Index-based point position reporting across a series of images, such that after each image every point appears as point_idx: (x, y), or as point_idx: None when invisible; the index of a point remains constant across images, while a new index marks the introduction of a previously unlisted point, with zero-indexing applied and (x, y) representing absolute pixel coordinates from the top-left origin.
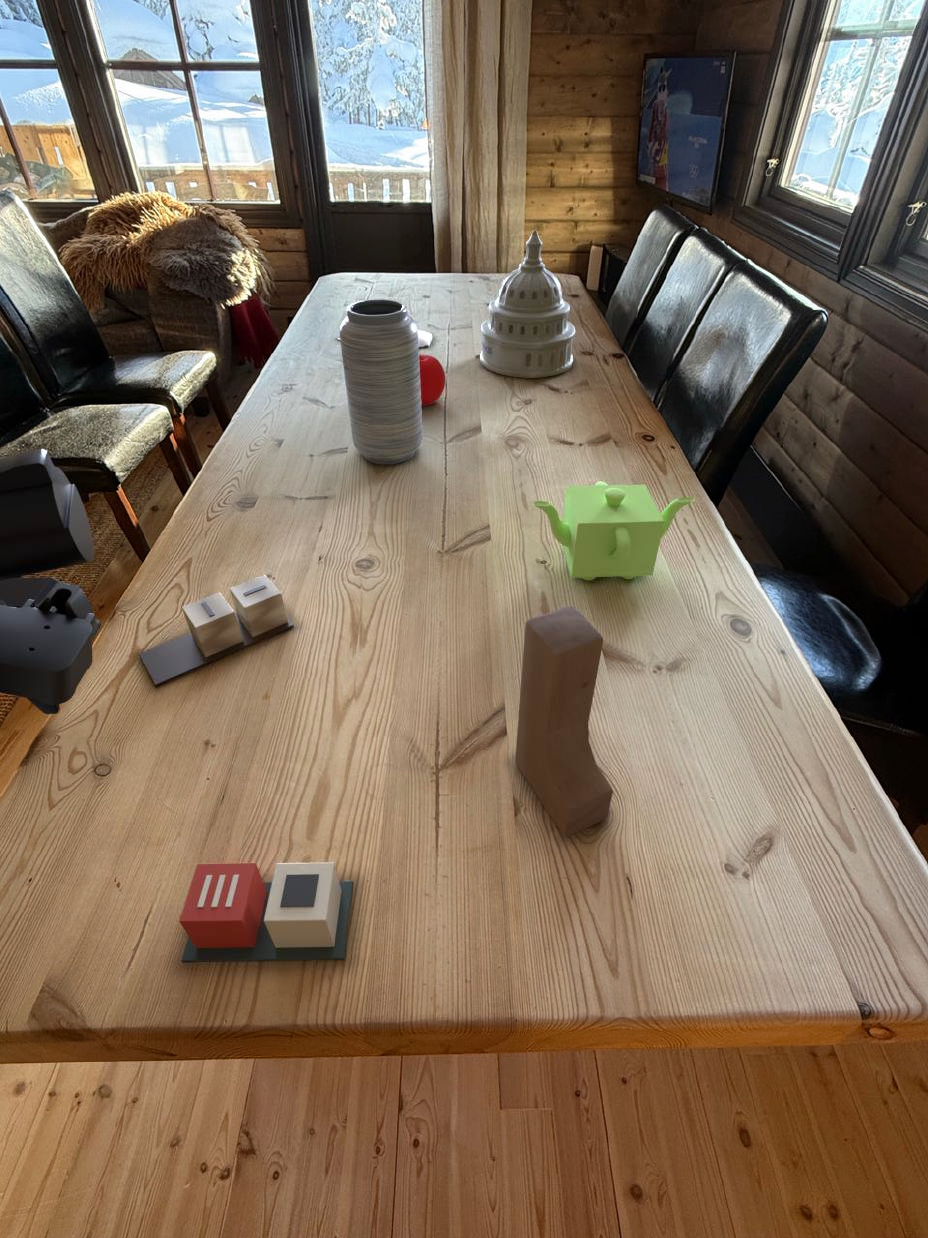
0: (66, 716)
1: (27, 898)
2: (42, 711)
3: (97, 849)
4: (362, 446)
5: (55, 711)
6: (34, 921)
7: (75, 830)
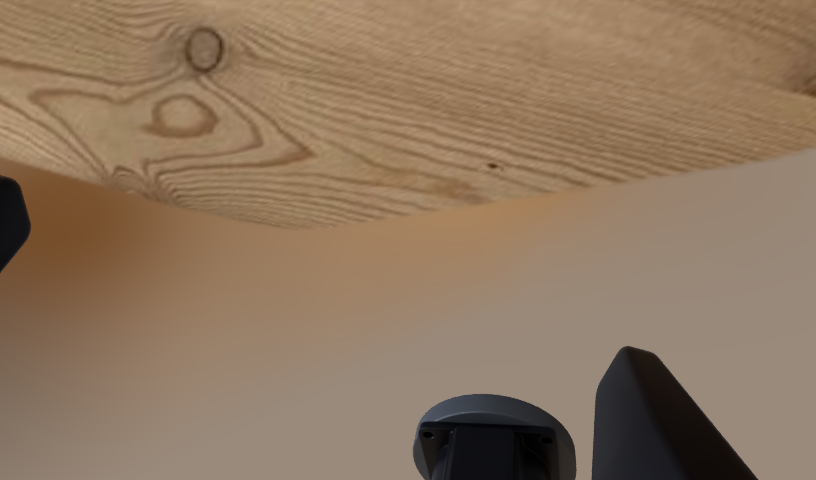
0: (61, 162)
1: (539, 164)
2: (17, 246)
3: (448, 23)
4: None
5: (1, 189)
6: (608, 140)
7: (379, 90)
